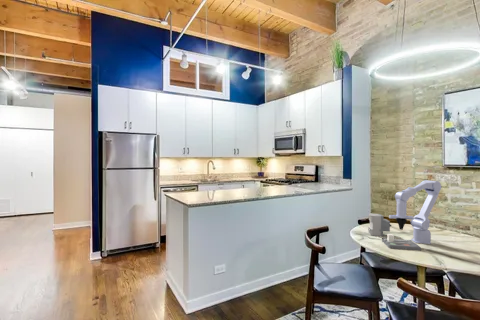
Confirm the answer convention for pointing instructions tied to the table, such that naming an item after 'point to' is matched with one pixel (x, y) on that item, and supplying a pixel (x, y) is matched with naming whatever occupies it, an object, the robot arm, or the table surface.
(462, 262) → the table surface
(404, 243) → the panel
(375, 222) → the circuit breaker
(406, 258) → the table surface
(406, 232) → the table surface
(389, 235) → the handle
